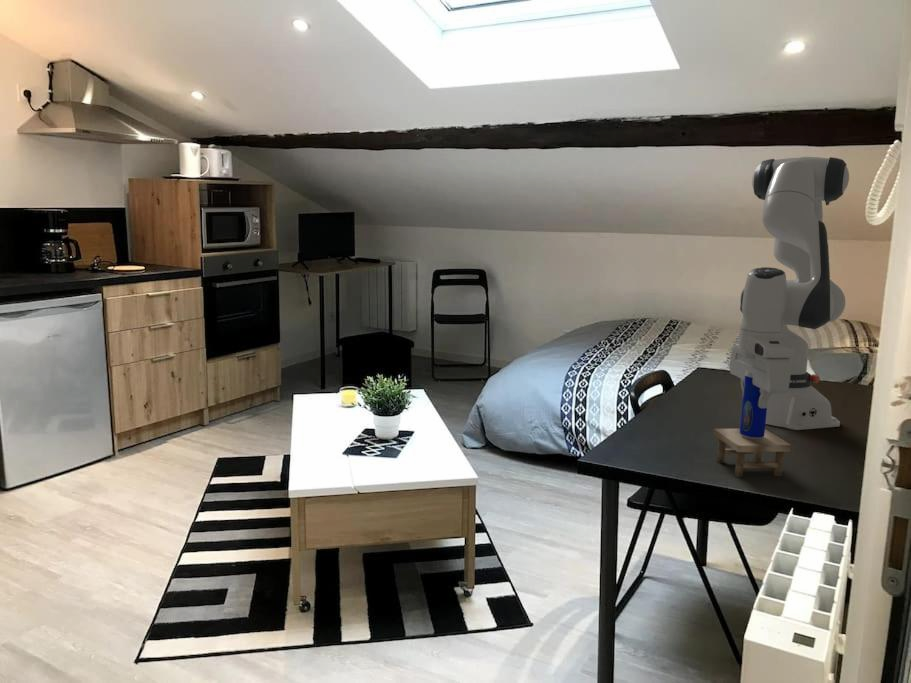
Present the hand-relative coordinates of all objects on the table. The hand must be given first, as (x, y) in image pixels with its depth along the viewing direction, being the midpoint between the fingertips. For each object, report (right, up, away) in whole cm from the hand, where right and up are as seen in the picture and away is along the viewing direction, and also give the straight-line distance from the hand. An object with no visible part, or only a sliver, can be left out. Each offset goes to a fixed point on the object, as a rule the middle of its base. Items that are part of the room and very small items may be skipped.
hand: (754, 403), depth 165 cm
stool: (0, -15, +3) cm, 15 cm away
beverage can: (0, -8, +2) cm, 8 cm away
